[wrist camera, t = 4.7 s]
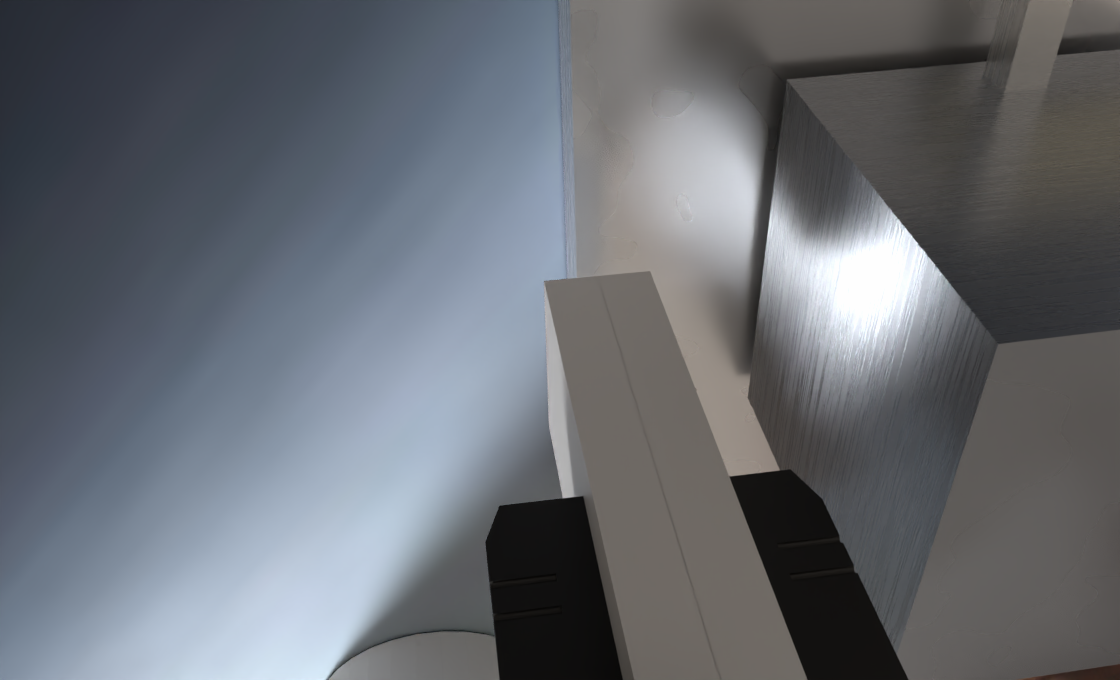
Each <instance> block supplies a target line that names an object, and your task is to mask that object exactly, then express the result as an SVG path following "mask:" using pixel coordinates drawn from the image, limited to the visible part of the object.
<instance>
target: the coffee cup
mask: <svg viewBox="0 0 1120 680" xmlns="http://www.w3.org/2000/svg"><path fill="white" fill-rule="evenodd" d="M329 680H499V672H498V662H497V652H496V643H495V637H494V636H490V635H487V634H479V633H472V632H449V631H440V632H432V633H423V634H415V635H411V636H407V637H402V638H398V639H394V640H391V641H388V642H385V643H382V644H380V645H377V646H374V647H372V648H369V649H368V650H366V651H364V652H362V653H360V654H358V655H357V656H355V657H353V658H351V659H350V660H349V661H348V662H346V663H345V664H344V665H342V666H341V667H340V668H339V669H337V670H336V671H335V673H334V674H333V675H332V676H331V677H330V679H329Z"/></svg>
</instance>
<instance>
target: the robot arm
mask: <svg viewBox="0 0 1120 680" xmlns="http://www.w3.org/2000/svg"><path fill="white" fill-rule="evenodd" d="M544 297H545V327H546V357H547V387H548V417H549V429H550V434H551V439H552V444H553V450H554V455H555V460H556V465H557V470H558V475H559V481H560V486H561V491H562V496H563V498H562V499H553V500H545V501H536V502H528V503H519V504H511V505H502V506H499V509H498V511H497V514H496V516H495V519H494V522H493V524H492V527H491V529H490V532H489V534H488V537H487V540H486V552H487V563H488V573H489V583H490V593H491V603H492V613H493V623H494V633H495V643H496V652H497V662H498V672H499V680H908V678H907V675H906V673H905V671H904V669H903V667H902V665H901V663H900V661H899V659H898V657H897V654H896V652H895V650H894V648H893V646H892V644H891V642H890V640H889V638H888V636H887V634H886V631H885V629H884V627H883V625H882V623H881V621H880V619H879V617H878V615H877V613H876V611H875V608H874V606H873V604H872V602H871V600H870V598H869V596H868V594H867V592H866V590H865V587H864V585H863V583H862V581H861V579H860V577H859V575H858V573H855V571H854V564H853V562H852V560H851V558H850V556H849V554H848V552H847V550H846V548H845V546H844V543H841V542H840V535H839V533H838V531H837V529H836V527H835V525H834V523H833V520H832V518H831V516H830V514H829V512H828V510H827V508H826V506H825V504H824V502H823V499H822V498H821V497H820V496H819V495H817V494H816V493H815V492H814V491H813V490H812V489H811V488H810V487H809V486H808V485H807V484H806V483H805V482H804V481H803V480H801V479H800V478H799V477H798V476H797V475H796V474H795V473H794V472H793V471H792V470H791V469H788V470H780V471H771V472H763V473H754V474H746V475H737V476H729V475H728V472H727V470H726V467H725V464H724V462H723V459H722V457H721V454H720V451H719V449H718V446H717V444H716V441H715V438H714V436H713V433H712V431H711V428H710V425H709V423H708V420H707V418H706V415H705V412H704V410H703V407H702V405H701V402H700V399H699V397H698V394H697V392H696V389H695V386H694V384H693V381H692V379H691V376H690V373H689V371H688V368H687V366H686V363H685V360H684V358H683V355H682V353H681V350H680V347H679V345H678V342H677V340H676V337H675V334H674V332H673V329H672V327H671V324H670V321H669V319H668V316H667V314H666V311H665V308H664V306H663V303H662V301H661V298H660V295H659V293H658V290H657V288H656V285H655V282H654V280H653V277H652V275H651V272H650V271H645V272H634V273H624V274H613V275H602V276H592V277H581V278H571V279H560V280H550V281H544Z"/></svg>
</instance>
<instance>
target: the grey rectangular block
mask: <svg viewBox="0 0 1120 680" xmlns="http://www.w3.org/2000/svg"><path fill="white" fill-rule="evenodd" d="M1072 2H1073V0H1002V2H1001V6H1000V10H999V14H998V18H997V22H996V26H995V30H994V34H993V38H992V41H991V45H990V49H989V53H988V57H987V61H986V62H976V63H965V64H954V65H942V66H931V67H920V68H909V69H898V70H887V71H876V72H865V73H854V74H843V75H832V76H820V77H809V78H798V79H787V81H786V89H785V97H784V106H783V114H782V122H781V130H780V138H779V146H778V154H777V163H776V171H775V179H774V187H773V195H772V203H771V211H770V219H769V228H768V236H767V244H766V252H765V260H764V268H763V276H762V285H761V293H760V301H759V309H758V317H757V325H756V333H755V341H754V350H753V358H752V366H751V374H750V382H749V390H748V399H749V401H750V404H751V406H752V408H753V410H754V413H755V415H756V417H757V420H758V422H759V424H760V426H761V429H762V431H763V433H764V435H765V438H766V440H767V442H768V444H769V447H770V449H771V451H772V453H773V456H774V458H775V460H776V462H777V465H778V467H779V469H780V470H788V469H791V470H792V471H793V472H794V473H795V474H796V475H797V476H798V477H799V478H800V479H801V480H803V481H804V482H805V483H806V484H807V485H808V486H809V487H810V488H811V489H812V490H813V491H814V492H815V493H816V494H817V495H819V496H820V497H821V498H822V499H823V502H824V504H825V506H826V508H827V510H828V512H829V514H830V516H831V518H832V520H833V523H834V525H835V527H836V529H837V531H838V533H839V535H840V542H841V543H844V546H845V548H846V550H847V552H848V554H849V556H850V558H851V560H852V562H853V564H854V571H855V573H858V575H859V577H860V579H861V581H862V583H863V585H864V587H865V590H866V592H867V594H868V596H869V598H870V600H871V602H872V604H873V606H874V608H875V611H876V613H877V615H878V617H879V619H880V621H881V623H882V625H883V627H884V629H885V631H886V634H887V636H888V638H889V640H890V642H891V644H892V646H893V648H894V650H895V652H896V654H897V657H898V659H899V661H900V663H901V665H902V667H903V669H904V671H905V673H906V675H907V678H908V680H1018V679H1025V678H1031V677H1038V676H1045V675H1051V674H1058V673H1064V672H1071V671H1077V670H1084V669H1090V668H1097V667H1104V666H1110V665H1117V664H1120V50H1109V51H1098V52H1087V53H1076V54H1065V55H1057V52H1058V49H1059V45H1060V42H1061V39H1062V35H1063V32H1064V29H1065V25H1066V22H1067V19H1068V15H1069V12H1070V9H1071V6H1072Z"/></svg>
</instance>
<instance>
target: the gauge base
mask: <svg viewBox="0 0 1120 680" xmlns="http://www.w3.org/2000/svg"><path fill="white" fill-rule="evenodd" d="M1001 2H1002V0H558V7H559V39H560V71H561V103H562V134H563V166H564V198H565V229H566V261H567V279H571V278H581V277H592V276H602V275H613V274H624V273H634V272H645V271H650V272H651V275H652V277H653V280H654V282H655V285H656V288H657V290H658V293H659V295H660V298H661V301H662V303H663V306H664V308H665V311H666V314H667V316H668V319H669V321H670V324H671V327H672V329H673V332H674V334H675V337H676V340H677V342H678V345H679V347H680V350H681V353H682V355H683V358H684V360H685V363H686V366H687V368H688V371H689V373H690V376H691V379H692V381H693V384H694V386H695V389H696V392H697V394H698V397H699V399H700V402H701V405H702V407H703V410H704V412H705V415H706V418H707V420H708V423H709V425H710V428H711V431H712V433H713V436H714V438H715V441H716V444H717V446H718V449H719V451H720V454H721V457H722V459H723V462H724V464H725V467H726V470H727V472H728V475H729V476H737V475H746V474H754V473H763V472H771V471H780V469H779V467H778V465H777V462H776V460H775V458H774V456H773V453H772V451H771V449H770V447H769V444H768V442H767V440H766V438H765V435H764V433H763V431H762V429H761V426H760V424H759V422H758V420H757V417H756V415H755V413H754V410H753V408H752V406H751V404H750V401H749V399H748V390H749V382H750V374H751V366H752V358H753V350H754V341H755V333H756V325H757V317H758V309H759V301H760V293H761V285H762V276H763V268H764V260H765V252H766V244H767V236H768V228H769V219H770V211H771V203H772V195H773V187H774V179H775V171H776V163H777V154H778V146H779V138H780V130H781V122H782V114H783V106H784V97H785V89H786V81H787V79H798V78H809V77H820V76H832V75H843V74H854V73H865V72H876V71H887V70H898V69H909V68H920V67H931V66H942V65H954V64H965V63H976V62H986V61H987V57H988V53H989V49H990V45H991V41H992V38H993V34H994V30H995V26H996V22H997V18H998V14H999V10H1000V6H1001ZM1109 50H1120V0H1073V2H1072V6H1071V9H1070V12H1069V15H1068V19H1067V22H1066V25H1065V29H1064V32H1063V35H1062V39H1061V42H1060V45H1059V49H1058V52H1057V55H1065V54H1076V53H1087V52H1098V51H1109Z"/></svg>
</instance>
